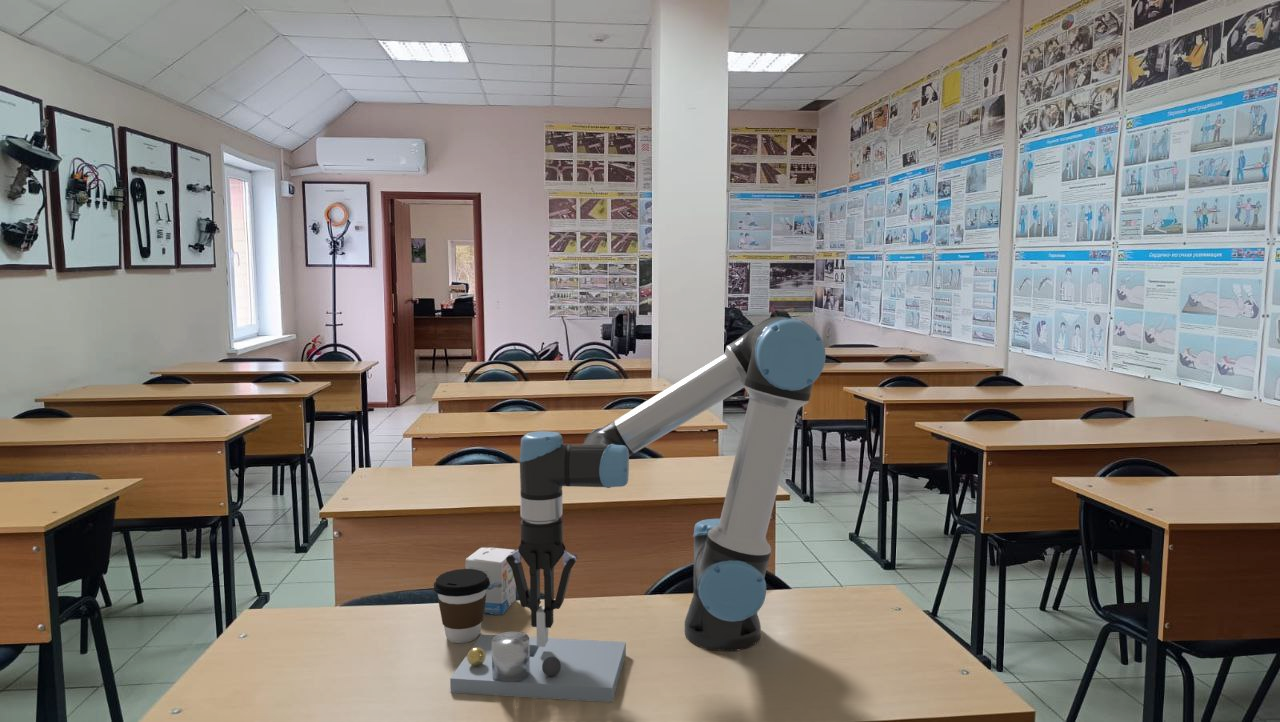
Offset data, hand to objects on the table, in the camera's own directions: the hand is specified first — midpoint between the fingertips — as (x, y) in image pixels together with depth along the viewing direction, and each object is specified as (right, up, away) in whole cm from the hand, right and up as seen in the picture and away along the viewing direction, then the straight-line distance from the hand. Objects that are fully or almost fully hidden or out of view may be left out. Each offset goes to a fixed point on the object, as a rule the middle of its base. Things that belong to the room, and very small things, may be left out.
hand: (542, 643), depth 144 cm
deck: (0, -4, -3) cm, 5 cm away
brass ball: (-11, 0, -5) cm, 12 cm away
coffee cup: (-17, -3, +12) cm, 21 cm away
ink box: (-14, -2, +27) cm, 30 cm away
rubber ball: (+3, -1, -9) cm, 9 cm away
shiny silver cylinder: (-4, -2, -8) cm, 10 cm away
